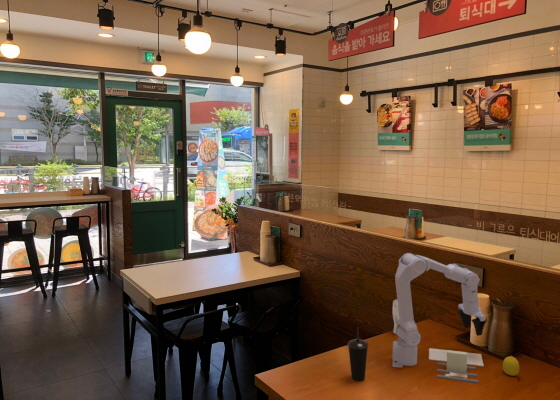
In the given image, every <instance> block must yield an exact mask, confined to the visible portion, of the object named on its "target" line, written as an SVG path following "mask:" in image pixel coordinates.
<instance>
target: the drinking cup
mask: <svg viewBox="0 0 560 400" xmlns="http://www.w3.org/2000/svg"><path fill="white" fill-rule="evenodd" d="M347 347H348V354H349V364H350V365H349V366H350V372H351V373H350V374H351V379H352V380H353V381H355V382H363V381H365V379H366V369H367V360H368V358H367V357H368V348H369V343H368V341H366V340H364V339H362V338H361V339H360V327H359V326H357V327H356V338H354V339H351V340H349V341H348V342H347Z"/></svg>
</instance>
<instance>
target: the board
mask: <svg viewBox="0 0 560 400" xmlns="http://www.w3.org/2000/svg"><path fill="white" fill-rule="evenodd" d="M447 350H448V349H440V348H428V360H429V361H438V362H444V363H447ZM467 365H468V366H470V365H471V366H478V367H484V362H483V357H482V354H481V353H475V352H473V353H472V352H467Z"/></svg>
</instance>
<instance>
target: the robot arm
mask: <svg viewBox="0 0 560 400" xmlns="http://www.w3.org/2000/svg"><path fill="white" fill-rule="evenodd" d="M430 269H431V270H433V271H435V272H436V271H437V272H439V273H443V274H444V277H445V278H447V279H450V280H452V281H454V282H458V283H461V296H462V303H459V304H458V306H457V307H458V311H457V315H458V316H459V317H460V320H461V321H462V325H463V327H464V329H468V328H469V329H470V328H471V322H472V324H473V325H474V330H475V334H476V336H477V337H478V336H482V335H483V332H484V328H485V324H486V323H487V321H488V318H486V314H485V315H484V313H483V312H482V308H481V307H480V306H479V293H478V286H479V284H480V281H481V280H480V278H479V275H478V274H477V273H475V272H473V271H471V270H469V269H468V268H466V267H460V266H459V264H456V263H449V264H447V265H446V264H443V263H441V262H438V261H436V260H434V259H431V258H429V257H427V256H423V255H419V254H413V253H411V252H407V253H404V254H403V255H402V256H401V257H400V258H399V259H398V267H397V269H396V273H395V274H394V275H395V276H394V278H395V279H394V281H395V282H394V283H395V289H396V290H395V291H396V299H397V300H398V310H399V320H398V321H397V327H396V334H397V335H396V334H395V335H396V336H397V337H398V340H394V341H393V342H392V355H391V359H392V365H391V366H392V367H393V368H403V366H407V367H413V366H416V365H417V364H418V345H419V344H420V342H421V338H422V337H421V334H420V333H419V330H418V326H417V324H416V322H415V320H414V309H413V301H412V290H411V282H412V280H414V279H416V278H417V277H419V276H421V275H422V274H423V273H425V271H426V272H428V271H429V270H430ZM471 317H475V318H473V319H471Z"/></svg>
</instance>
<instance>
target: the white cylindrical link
mask: <svg viewBox="0 0 560 400" xmlns="http://www.w3.org/2000/svg"><path fill="white" fill-rule="evenodd" d="M392 320H393V323H394V325H393V331H392V333H393V334H394V335H396V336H397V334H396V327H397V321H398V320H399V310H398V300H397V298H396V299H393V301H392Z"/></svg>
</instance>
